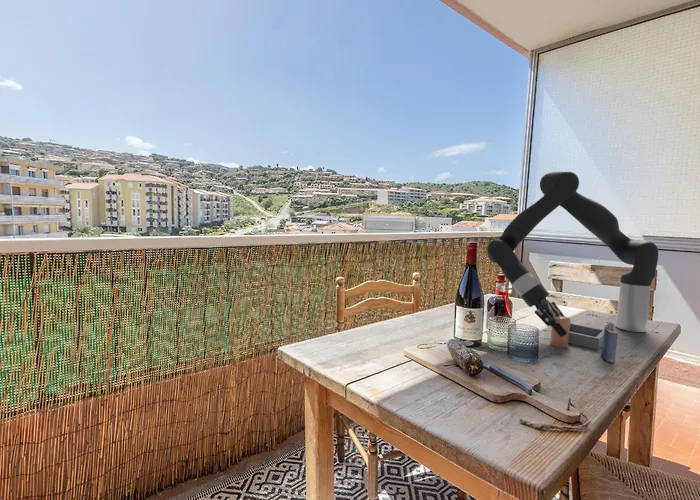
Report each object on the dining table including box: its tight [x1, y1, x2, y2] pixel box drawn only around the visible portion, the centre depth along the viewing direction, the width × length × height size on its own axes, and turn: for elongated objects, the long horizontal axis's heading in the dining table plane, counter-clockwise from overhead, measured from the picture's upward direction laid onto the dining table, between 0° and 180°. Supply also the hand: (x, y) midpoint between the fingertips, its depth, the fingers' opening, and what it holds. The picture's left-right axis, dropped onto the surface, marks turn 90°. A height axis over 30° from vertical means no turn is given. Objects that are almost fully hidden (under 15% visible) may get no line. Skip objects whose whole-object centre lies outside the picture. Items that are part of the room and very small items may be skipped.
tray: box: [568, 322, 604, 351], centre depth 127 cm, size 13×13×4 cm
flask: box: [600, 321, 619, 364], centre depth 111 cm, size 9×3×11 cm, turn 152°
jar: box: [549, 315, 571, 349], centre depth 120 cm, size 5×5×9 cm
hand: (566, 333), depth 119 cm, fingers closed on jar, 5 cm apart
